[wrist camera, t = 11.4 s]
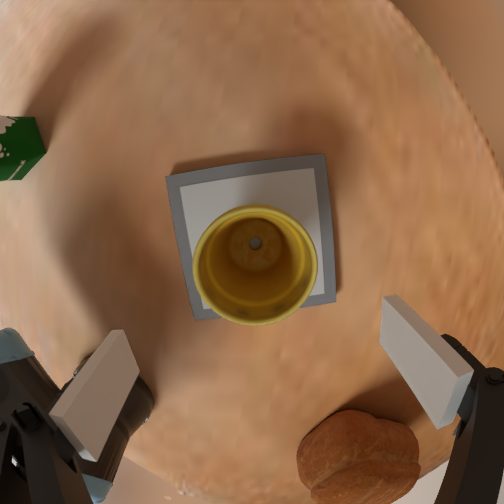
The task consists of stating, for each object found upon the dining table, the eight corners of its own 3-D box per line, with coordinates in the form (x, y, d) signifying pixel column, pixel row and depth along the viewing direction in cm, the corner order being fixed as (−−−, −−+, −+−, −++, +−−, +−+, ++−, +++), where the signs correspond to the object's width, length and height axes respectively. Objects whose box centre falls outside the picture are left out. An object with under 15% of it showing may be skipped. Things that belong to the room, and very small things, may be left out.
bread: (345, 396, 41) (373, 475, 25) (414, 419, 44) (443, 476, 28) (284, 449, 45) (291, 520, 29) (358, 464, 48) (374, 519, 32)
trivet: (196, 314, 37) (194, 320, 35) (169, 176, 32) (165, 176, 30) (333, 297, 36) (336, 302, 34) (321, 154, 31) (324, 153, 30)
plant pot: (218, 188, 31) (202, 194, 21) (309, 207, 31) (333, 222, 22) (202, 275, 33) (184, 314, 24) (288, 292, 34) (300, 335, 24)
